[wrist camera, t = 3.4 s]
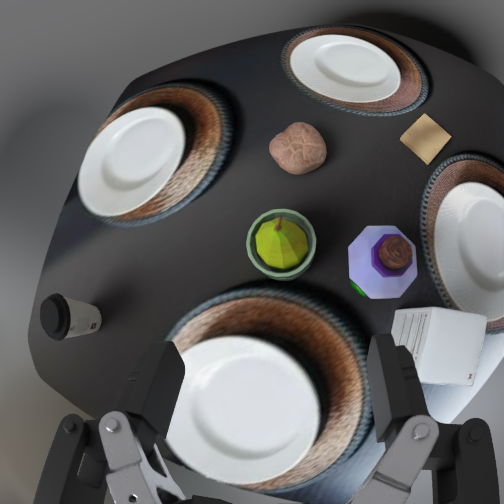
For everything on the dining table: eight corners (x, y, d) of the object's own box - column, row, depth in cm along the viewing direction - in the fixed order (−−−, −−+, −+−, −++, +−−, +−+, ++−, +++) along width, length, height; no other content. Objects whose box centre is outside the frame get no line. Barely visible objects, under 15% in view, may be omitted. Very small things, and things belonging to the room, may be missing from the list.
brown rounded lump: (256, 156, 42) (288, 184, 38) (259, 120, 37) (295, 145, 33) (295, 147, 45) (328, 172, 41) (301, 114, 40) (337, 137, 36)
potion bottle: (329, 289, 36) (339, 278, 25) (351, 228, 37) (368, 193, 26) (388, 312, 34) (422, 312, 22) (408, 252, 35) (445, 227, 23)
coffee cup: (112, 328, 41) (69, 328, 31) (87, 345, 41) (45, 348, 32) (97, 290, 43) (54, 283, 33) (73, 310, 43) (31, 306, 33)
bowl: (328, 250, 37) (330, 242, 33) (281, 294, 37) (278, 291, 33) (285, 208, 39) (282, 195, 35) (241, 249, 39) (232, 241, 35)
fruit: (251, 258, 39) (226, 234, 27) (274, 218, 39) (259, 179, 28) (293, 281, 37) (287, 267, 25) (316, 240, 37) (319, 208, 26)
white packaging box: (440, 316, 32) (490, 315, 20) (428, 369, 31) (473, 388, 19) (394, 307, 34) (432, 304, 22) (381, 362, 33) (414, 384, 21)
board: (449, 139, 37) (451, 136, 36) (427, 165, 37) (430, 162, 36) (422, 116, 38) (424, 113, 37) (399, 139, 38) (401, 136, 37)
